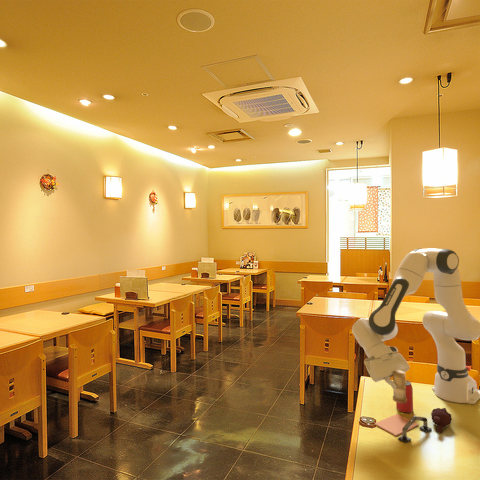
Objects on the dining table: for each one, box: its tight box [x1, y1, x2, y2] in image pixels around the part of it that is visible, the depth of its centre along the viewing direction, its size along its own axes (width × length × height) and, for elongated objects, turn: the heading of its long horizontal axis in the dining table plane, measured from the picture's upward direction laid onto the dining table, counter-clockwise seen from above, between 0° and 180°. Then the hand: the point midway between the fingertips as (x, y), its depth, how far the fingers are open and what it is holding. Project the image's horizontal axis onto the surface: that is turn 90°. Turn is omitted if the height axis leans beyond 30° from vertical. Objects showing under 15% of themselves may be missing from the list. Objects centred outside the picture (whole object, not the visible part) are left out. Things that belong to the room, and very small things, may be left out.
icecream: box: [430, 407, 453, 434], centre depth 135 cm, size 7×7×15 cm
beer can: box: [395, 379, 414, 414], centre depth 148 cm, size 7×7×12 cm
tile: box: [374, 413, 420, 437], centre depth 136 cm, size 14×10×1 cm
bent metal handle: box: [397, 415, 432, 444], centre depth 129 cm, size 16×3×7 cm, turn 120°
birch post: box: [392, 370, 407, 403], centre depth 134 cm, size 5×5×11 cm
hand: (400, 386), depth 134 cm, fingers closed on birch post, 4 cm apart
